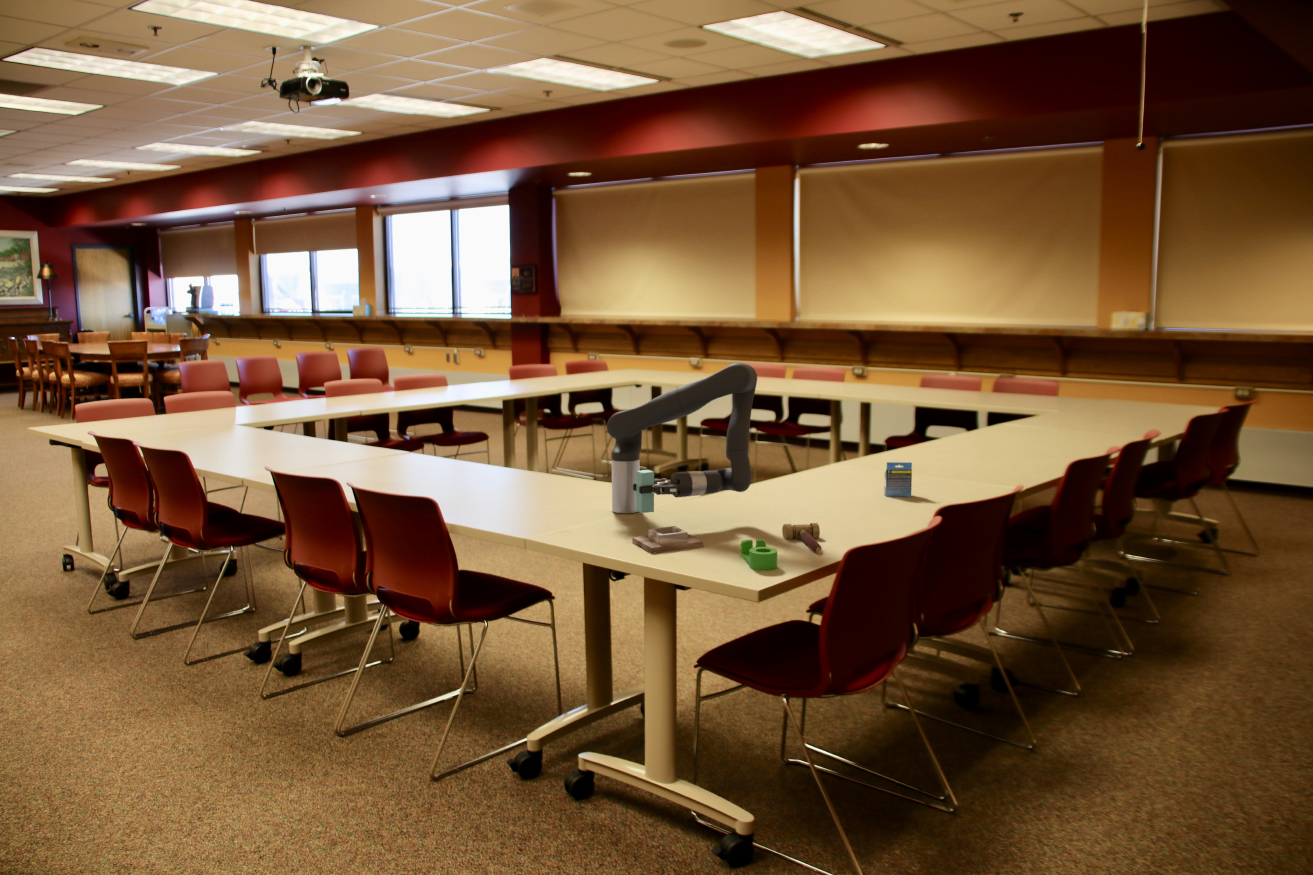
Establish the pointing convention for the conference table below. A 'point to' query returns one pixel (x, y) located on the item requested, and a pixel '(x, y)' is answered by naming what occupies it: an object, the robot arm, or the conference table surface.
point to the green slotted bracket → (759, 555)
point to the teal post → (645, 500)
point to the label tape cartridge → (898, 479)
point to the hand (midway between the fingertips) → (636, 488)
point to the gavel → (804, 534)
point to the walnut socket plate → (667, 540)
